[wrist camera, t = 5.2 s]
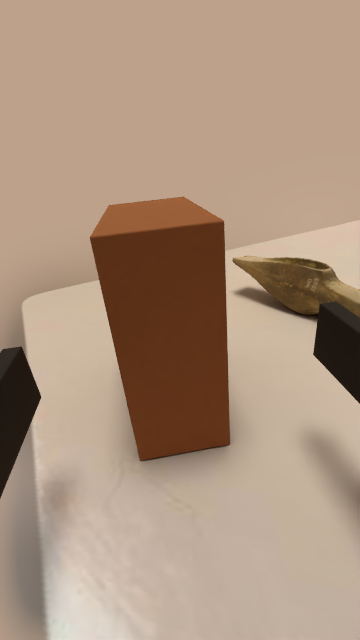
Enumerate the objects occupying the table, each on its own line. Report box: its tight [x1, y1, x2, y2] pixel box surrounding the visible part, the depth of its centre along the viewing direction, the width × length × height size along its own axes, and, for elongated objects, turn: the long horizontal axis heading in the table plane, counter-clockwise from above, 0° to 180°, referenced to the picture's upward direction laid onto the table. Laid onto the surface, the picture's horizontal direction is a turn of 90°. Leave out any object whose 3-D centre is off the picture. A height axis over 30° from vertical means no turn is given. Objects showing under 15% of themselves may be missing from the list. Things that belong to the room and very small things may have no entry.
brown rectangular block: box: [90, 197, 230, 460], centre depth 18 cm, size 5×10×12 cm, turn 8°
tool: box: [233, 256, 360, 317], centre depth 28 cm, size 22×6×5 cm, turn 34°
